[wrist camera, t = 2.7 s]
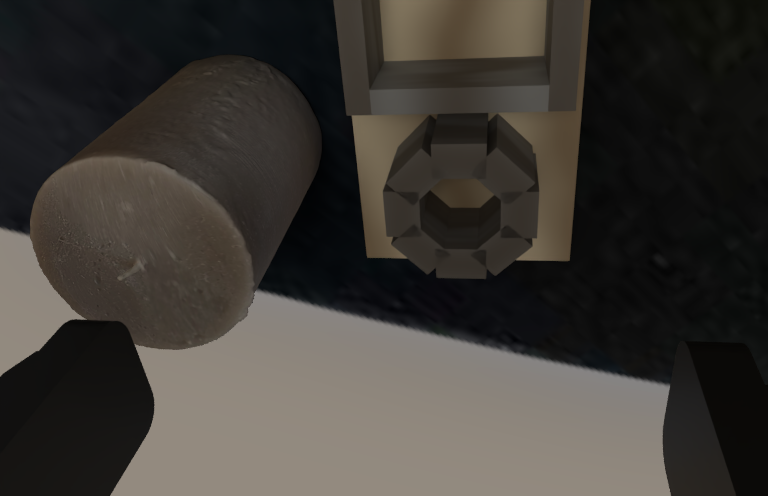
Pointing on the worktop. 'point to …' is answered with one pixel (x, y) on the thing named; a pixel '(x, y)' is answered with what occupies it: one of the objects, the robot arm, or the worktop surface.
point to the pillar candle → (180, 203)
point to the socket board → (538, 126)
